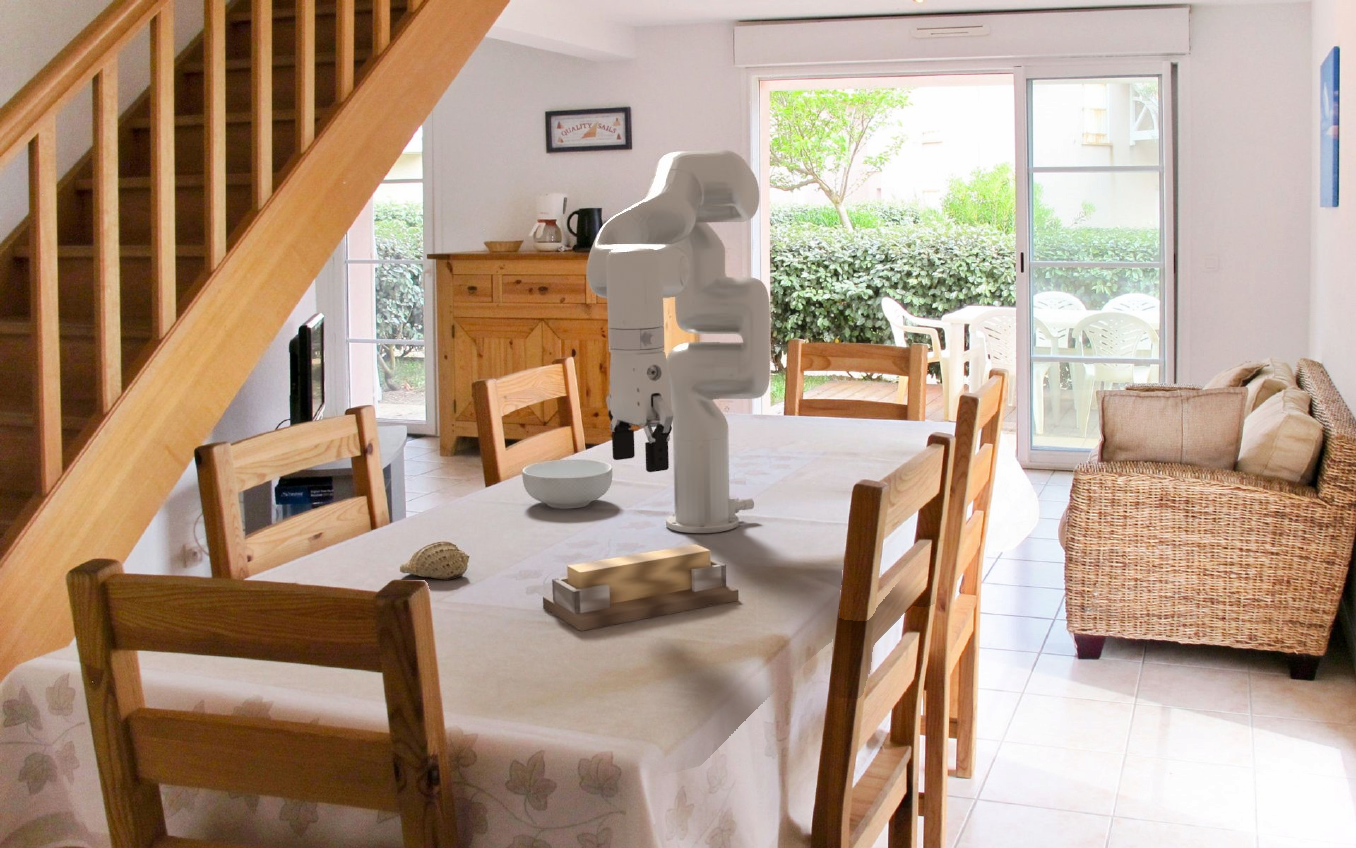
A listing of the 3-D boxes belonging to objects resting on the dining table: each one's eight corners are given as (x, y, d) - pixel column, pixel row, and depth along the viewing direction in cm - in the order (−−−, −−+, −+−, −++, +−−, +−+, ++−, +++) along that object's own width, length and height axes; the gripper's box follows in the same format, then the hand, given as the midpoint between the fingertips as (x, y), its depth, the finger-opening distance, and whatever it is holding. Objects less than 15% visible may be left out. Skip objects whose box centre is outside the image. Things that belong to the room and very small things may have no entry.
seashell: (416, 605, 183) (477, 571, 184) (396, 570, 181) (457, 536, 183) (413, 590, 190) (472, 558, 192) (394, 557, 189) (453, 525, 190)
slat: (696, 578, 178) (695, 544, 177) (710, 585, 174) (710, 550, 173) (568, 601, 168) (567, 565, 167) (581, 609, 164) (580, 572, 164)
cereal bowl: (504, 506, 233) (503, 469, 232) (568, 491, 246) (566, 455, 245) (569, 518, 222) (567, 479, 221) (631, 502, 235) (630, 465, 234)
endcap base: (694, 580, 182) (693, 550, 181) (738, 600, 172) (738, 568, 171) (543, 607, 170) (541, 575, 170) (580, 631, 160) (579, 597, 159)
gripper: (693, 343, 162) (695, 472, 165) (631, 333, 177) (634, 451, 180) (642, 348, 159) (646, 479, 162) (583, 337, 174) (588, 457, 177)
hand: (640, 464), depth 171 cm, fingers open, 9 cm apart
